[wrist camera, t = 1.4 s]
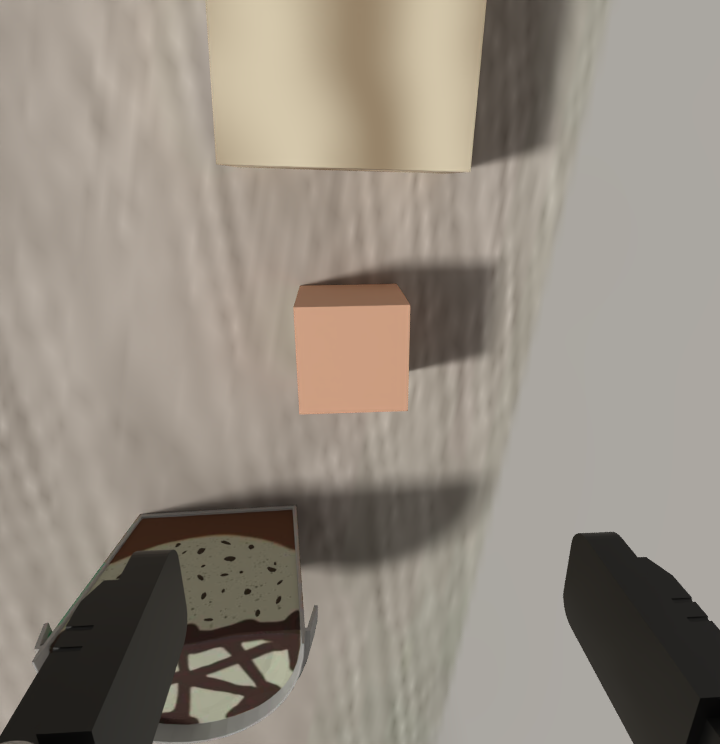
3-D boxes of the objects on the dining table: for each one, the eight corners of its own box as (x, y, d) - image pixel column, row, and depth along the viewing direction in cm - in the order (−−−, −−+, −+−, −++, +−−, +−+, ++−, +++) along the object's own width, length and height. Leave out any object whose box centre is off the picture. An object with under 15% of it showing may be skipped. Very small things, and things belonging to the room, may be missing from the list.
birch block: (238, 167, 25) (216, 164, 20) (224, -95, 21) (194, -173, 16) (444, 173, 25) (470, 171, 20) (464, -80, 22) (500, -153, 17)
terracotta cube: (304, 375, 28) (299, 414, 24) (300, 285, 26) (293, 307, 22) (395, 373, 28) (407, 411, 24) (396, 283, 27) (410, 305, 22)
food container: (133, 596, 33) (54, 762, 23) (114, 515, 31) (18, 663, 21) (326, 584, 33) (324, 742, 24) (321, 503, 31) (316, 642, 22)
